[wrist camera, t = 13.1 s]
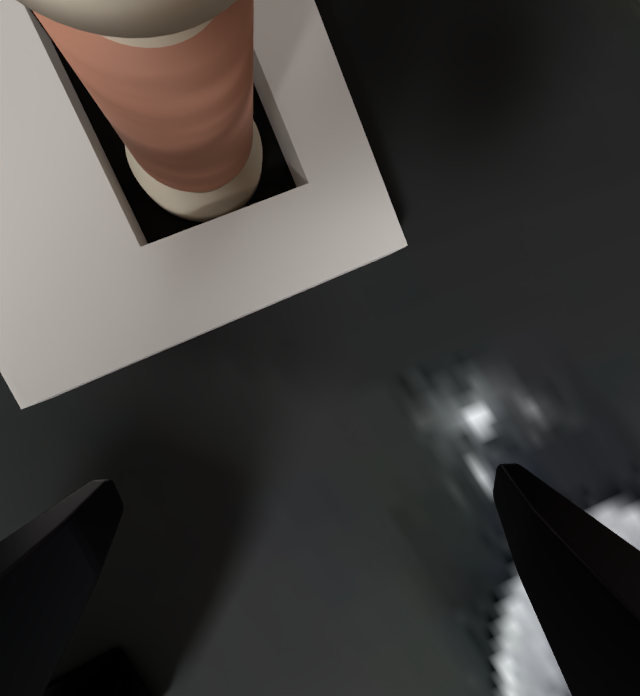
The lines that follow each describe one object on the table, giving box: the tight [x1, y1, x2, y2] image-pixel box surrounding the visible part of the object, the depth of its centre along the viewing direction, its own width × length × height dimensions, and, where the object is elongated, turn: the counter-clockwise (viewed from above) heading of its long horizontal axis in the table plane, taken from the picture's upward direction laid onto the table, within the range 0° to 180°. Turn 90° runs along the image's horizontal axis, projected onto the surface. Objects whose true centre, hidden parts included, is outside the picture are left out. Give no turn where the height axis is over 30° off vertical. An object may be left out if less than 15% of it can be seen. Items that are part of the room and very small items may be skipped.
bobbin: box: [16, 0, 262, 222], centre depth 13 cm, size 7×7×14 cm
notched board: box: [0, 0, 407, 409], centre depth 18 cm, size 20×16×2 cm
